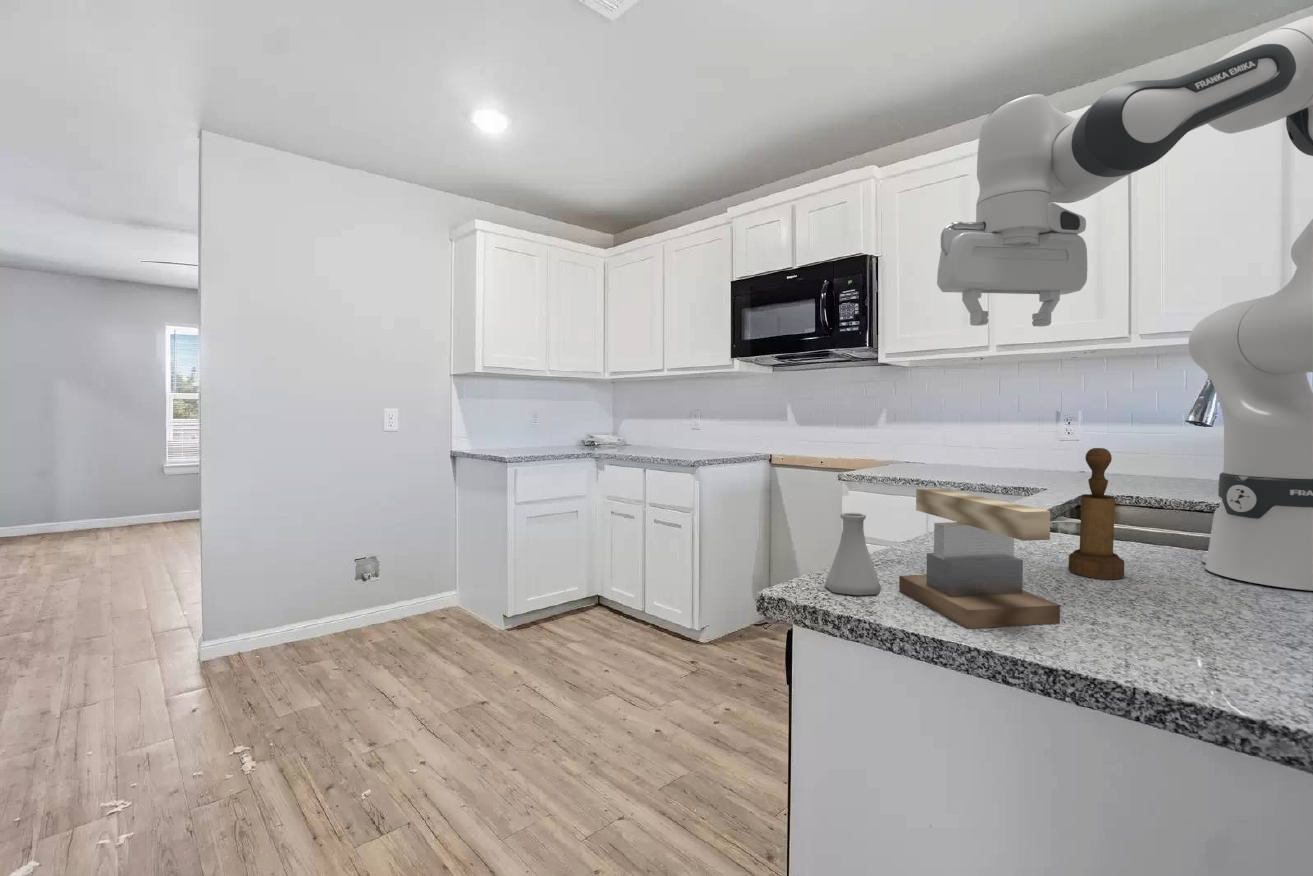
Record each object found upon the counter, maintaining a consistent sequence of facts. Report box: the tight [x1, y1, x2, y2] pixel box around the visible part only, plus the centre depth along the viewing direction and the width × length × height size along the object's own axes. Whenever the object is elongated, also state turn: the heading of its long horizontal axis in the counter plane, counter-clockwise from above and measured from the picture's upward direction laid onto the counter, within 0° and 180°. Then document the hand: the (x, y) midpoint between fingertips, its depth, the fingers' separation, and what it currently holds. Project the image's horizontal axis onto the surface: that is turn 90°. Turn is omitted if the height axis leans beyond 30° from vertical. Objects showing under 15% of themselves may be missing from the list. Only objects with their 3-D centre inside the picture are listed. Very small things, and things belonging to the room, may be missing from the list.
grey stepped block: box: [926, 521, 1024, 597], centre depth 73 cm, size 9×5×8 cm, turn 98°
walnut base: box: [898, 574, 1061, 629], centre depth 74 cm, size 11×14×2 cm
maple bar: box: [915, 487, 1051, 542], centre depth 73 cm, size 20×3×3 cm, turn 8°
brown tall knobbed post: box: [1067, 447, 1125, 580], centre depth 87 cm, size 7×6×18 cm
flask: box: [824, 512, 882, 596], centre depth 81 cm, size 7×7×10 cm
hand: (1010, 325), depth 84 cm, fingers open, 8 cm apart
